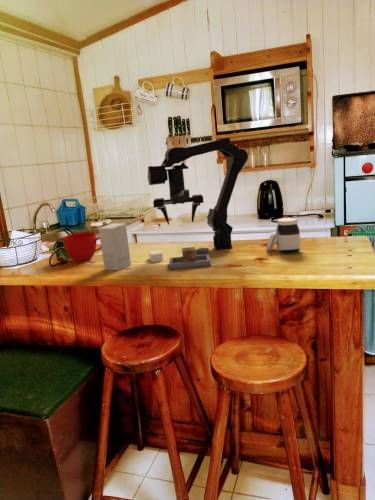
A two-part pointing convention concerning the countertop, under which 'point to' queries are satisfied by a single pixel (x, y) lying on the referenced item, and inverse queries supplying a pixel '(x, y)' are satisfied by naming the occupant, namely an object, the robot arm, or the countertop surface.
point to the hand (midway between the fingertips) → (180, 223)
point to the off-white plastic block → (155, 255)
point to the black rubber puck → (202, 251)
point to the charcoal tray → (179, 264)
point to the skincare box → (114, 246)
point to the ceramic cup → (81, 246)
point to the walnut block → (189, 254)
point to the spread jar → (286, 236)
